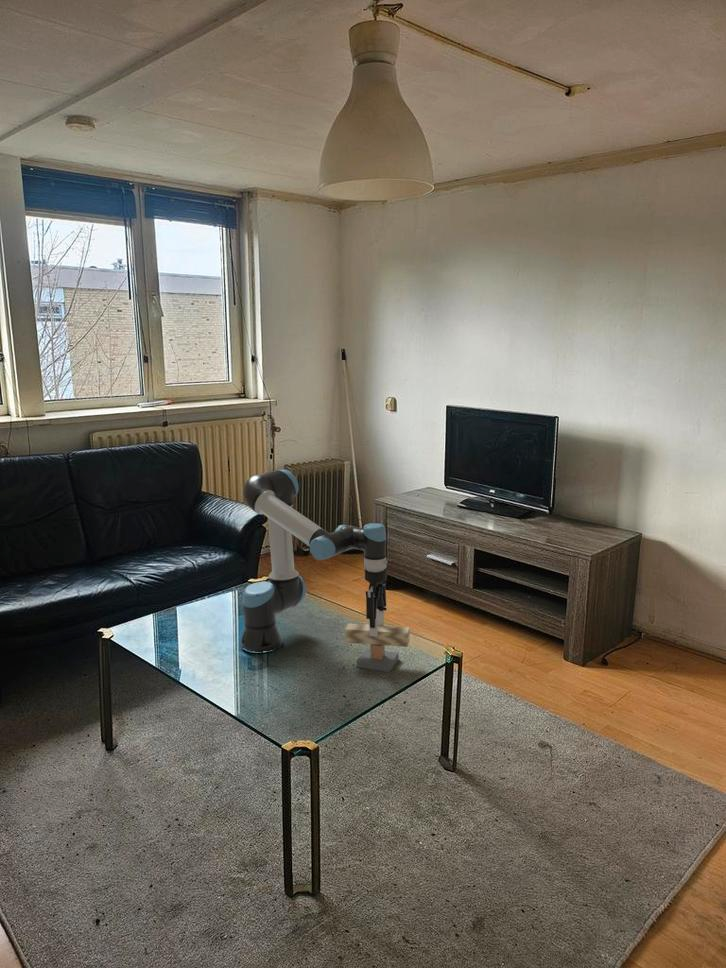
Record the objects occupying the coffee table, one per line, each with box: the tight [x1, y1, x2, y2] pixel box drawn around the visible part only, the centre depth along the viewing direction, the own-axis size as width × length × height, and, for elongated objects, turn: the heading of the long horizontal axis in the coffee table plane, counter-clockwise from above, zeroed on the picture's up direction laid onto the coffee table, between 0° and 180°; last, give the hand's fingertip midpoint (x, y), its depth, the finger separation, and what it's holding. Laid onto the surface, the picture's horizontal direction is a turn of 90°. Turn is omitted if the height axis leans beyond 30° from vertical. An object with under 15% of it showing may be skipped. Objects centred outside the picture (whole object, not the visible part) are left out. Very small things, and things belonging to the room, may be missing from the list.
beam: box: [344, 623, 411, 648], centre depth 240 cm, size 22×5×5 cm, turn 78°
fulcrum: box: [356, 644, 399, 673], centre depth 241 cm, size 12×10×8 cm
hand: (377, 631), depth 239 cm, fingers open, 6 cm apart
